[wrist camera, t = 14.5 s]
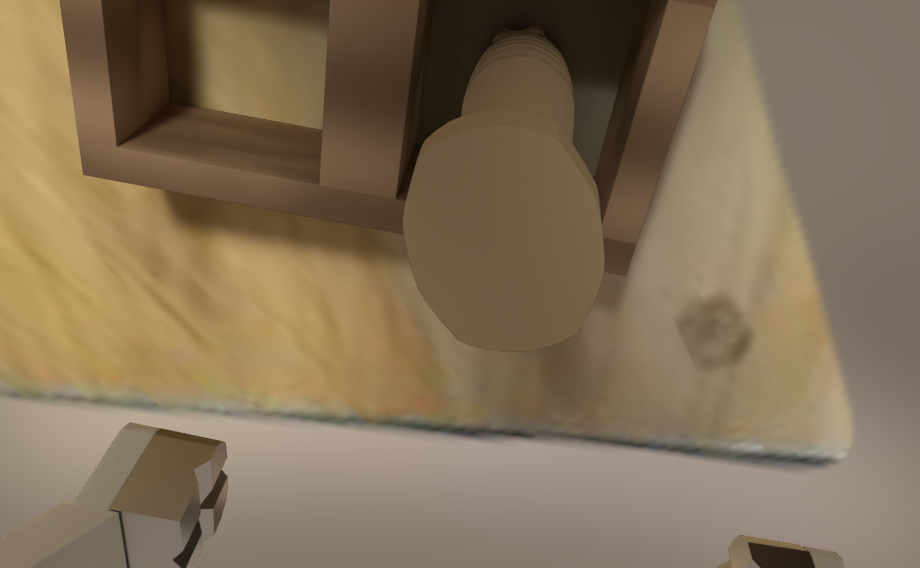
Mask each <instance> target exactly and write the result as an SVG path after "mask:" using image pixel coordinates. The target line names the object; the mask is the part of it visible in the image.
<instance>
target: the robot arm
mask: <svg viewBox="0 0 920 568" xmlns="http://www.w3.org/2000/svg"><path fill="white" fill-rule="evenodd" d="M226 458H227V451H226V443H225V442H223V441H219V440H214V439H209V438H205V437H200V436H195V435H191V434H186V433H181V432H176V431H172V430H166V429H162V428H161V429H160V428H156V427H151V426H146V425H141V424H136V423H131V422H130V423H128V424H127V425H126V426H125V427H124V428H122V429H121V430H120V431H119V433H118V435H117V436H116V438H115V439H114V441H113V442H112V444H111V445H110V447H109V448H108V450H107V451H106V453H105V455H104V456H103V458H102V459H101V461H100V462H99V464H98V465H97V467H96V469H95V470H94V472H93V473H92V474H91V476H90V477H89V479H88V481H87V482H86V484H85V485H84V487H83V488H82V490H81V491H80V493H79V494H78V496H77V497H76V499H75V500H74V502H73V504H71V503H64V502H62V503H61V504H59V505H57V506H55V507H54V508H52V509H51V510H49V511H47V512H45V513H43V514H41V515H40V516H38V517H36V518H35V519H33V520H31V521H29V522H27V523H26V524H24V525H22V526H20V527H19V528H17V529H15V530H13V531H12V532H10V533H8V534H6V535H5V536H3V537H1V538H0V568H200V566H201V564H202V562H203V542H205V541H206V540H208V539H209V538H211V537H212V536H214V534H215V532H216V530H217V527H218V525H219V522H220V520H221V517H222V513H223V510H224V506H225V503H226V497H227V489H228V477H227V475H226V474H225V473H224V472H223V471H222V467H223V465H224V463H225V460H226ZM728 551H729V555H730V561H728V562H727V563H724V564H722V565H720V566H718V568H845V565H844V563H843V560H842V558H841V557H840V556H839V555H838V553H836V552H832V551H826V550H821V549H816V548H810V547H802V546H800V545H796V544H790V543H785V542H779V541H773V540H767V539H761V538H755V537H749V536H743V535H740V536H738V537H736V538H735V539H734V540H733V542H732V543H731V545H730V547H729V548H728Z"/></svg>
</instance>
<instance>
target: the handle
mask: <svg viewBox="0 0 920 568" xmlns="http://www.w3.org/2000/svg"><path fill="white" fill-rule="evenodd" d="M574 121H575V107H574V95H573V89H572V83H571V79H570V75H569V71H568V68H567V65H566V61H565V58H564V56H563V54H562V52H561V51H560V50H558V49H557V48H556V47H555V46H554V45H553V44H552V43H551V42H550V41H549V40H547V38H546V37H545V35H544V31H543V29H542V28H541V27H539V26H536V25H530V26H529V27H527V28H525V29H522V30H514V31H513V30H508V29H504V30H502V31H501V32H499V33H498V34H497V35H496V36H495V37H494V39H493V44H492V45H491V46H490V47H489V48H488V49H487V50H486V51H485V52H484V54H483V55H482V56H481V58H480V60H479V61H478V63H477V65H476V67H475V69H474V71H473V73H472V75H471V78H470V80H469V83H468V86H467V89H466V93H465V96H464V100H463V105H462V114H461V117H460V118H457V119H454V120H452V121H450V122H448V123H447V124H445V125H444V126H442V127H441V128H439V129H438V130H436V131H435V132H434V133H433V134H432V135H430V136H429V137H428V138H427V139H426V140H425V141H424V143H423V145H422V147H421V150H420V153H419V156H418V159H417V162H416V166H415V169H414V173H413V176H412V180H411V183H410V187H409V191H408V195H407V199H406V203H405V208H404V216H403V231H404V239H405V244H406V248H407V252H408V256H409V260H410V265H411V269H412V273H413V276H414V279H415V282H416V284H417V287H418V290H419V292H420V293H421V295H422V296H423V298H424V300H425V301H426V303H427V304H428V306H429V307H430V308H431V309H432V310H433V312H434V313H435V314H436V315H437V317H438V318H439V319H440V320H441V321H442V323H443V324H444V325H445V326H446V327H447V328H448V329H449V331H450V332H451V333H452V334H453V335H454V336H455V337H456V339H457V340H459V341H461V342H463V343H466V344H468V345H471V346H474V347H477V348H481V349H484V350H492V351H500V352H519V351H528V350H535V349H541V348H544V347H548V346H552V345H555V344H558V343H560V342H562V341H564V340H566V339H568V338H570V337H571V336H573V335H574V334H576V333H577V332H579V331H580V330H581V328H582V326H583V324H584V322H585V320H586V318H587V316H588V313H589V311H590V309H591V307H592V305H593V303H594V301H595V298H596V296H597V294H598V292H599V289H600V285H601V282H602V279H603V275H604V261H605V258H604V246H603V234H602V223H601V212H600V202H599V194H598V189H597V185H596V183H595V181H594V179H593V177H592V176H591V174H590V172H589V170H588V168H587V166H586V165H585V163H584V161H583V160H582V158H581V156H580V155H579V153H578V151H577V150H576V148H575V147H574V145H573V144H572V141H573V131H574Z"/></svg>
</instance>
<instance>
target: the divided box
mask: <svg viewBox="0 0 920 568" xmlns="http://www.w3.org/2000/svg"><path fill="white" fill-rule="evenodd" d="M716 2H717V0H643V3H642V7H641V10H640V14H639V17H638V21H637V24H636V28H635V32H634V35H633V39H632V42H631V46H630V50H629V53H628V57H627V60H626V64H625V68H624V71H623V75H622V78H621V82H620V85H619V89H618V93H617V96H616V100H615V103H614V107H613V111H612V114H611V118H610V121H609V125H608V129H607V132H606V136H605V139H604V143H603V146H602V150H601V154H600V157H599V161H598V164H597V168H596V172H595V175H594V181H595V183H596V185H597V189H598V194H599V202H600V212H601V223H602V234H603V246H604V258H605V261H604V272H608V273H614V274H619V275H625V276H626V274H627V271H628V268H629V265H630V262H631V259H632V256H633V253H634V250H635V247H636V244H637V241H638V238H639V235H640V232H641V229H642V226H643V223H644V220H645V217H646V214H647V210H648V207H649V204H650V201H651V198H652V195H653V192H654V189H655V186H656V183H657V180H658V177H659V174H660V171H661V168H662V165H663V162H664V159H665V156H666V153H667V150H668V147H669V144H670V141H671V138H672V135H673V132H674V129H675V126H676V123H677V120H678V117H679V114H680V111H681V108H682V105H683V102H684V99H685V96H686V93H687V90H688V87H689V84H690V81H691V78H692V75H693V71H694V68H695V65H696V62H697V59H698V56H699V53H700V50H701V47H702V44H703V41H704V38H705V35H706V32H707V29H708V26H709V23H710V20H711V17H712V14H713V11H714V8H715V5H716ZM433 5H434V0H330V9H329V26H328V44H327V61H326V79H325V97H324V114H323V130H318V129H313V128H308V127H302V126H297V125H291V124H286V123H281V122H275V121H270V120H265V119H259V118H254V117H248V116H243V115H238V114H232V113H227V112H222V111H216V110H211V109H205V108H200V107H195V106H189V105H184V104H179V103H173V102H170V94H169V78H168V61H167V45H166V28H165V12H164V0H60V7H61V14H62V21H63V29H64V36H65V44H66V51H67V58H68V66H69V73H70V81H71V88H72V96H73V103H74V110H75V118H76V125H77V133H78V140H79V147H80V155H81V162H82V170H83V175H87V176H92V177H97V178H103V179H108V180H114V181H119V182H124V183H130V184H135V185H140V186H146V187H151V188H157V189H162V190H167V191H173V192H178V193H184V194H189V195H194V196H200V197H205V198H210V199H216V200H221V201H227V202H232V203H237V204H243V205H248V206H253V207H259V208H264V209H270V210H275V211H280V212H286V213H291V214H296V215H302V216H307V217H313V218H318V219H323V220H329V221H334V222H339V223H345V224H350V225H356V226H361V227H366V228H372V229H377V230H382V231H388V232H393V233H399V234H404V231H403V216H404V208H405V203H406V199H407V195H408V191H409V187H410V183H411V180H412V176H413V173H414V169H415V166H416V162H417V159H418V156H419V153H420V150H421V149H420V148H415V143H416V135H417V128H418V120H419V112H420V105H421V97H422V89H423V82H424V74H425V66H426V59H427V51H428V43H429V36H430V28H431V20H432V13H433Z"/></svg>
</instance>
